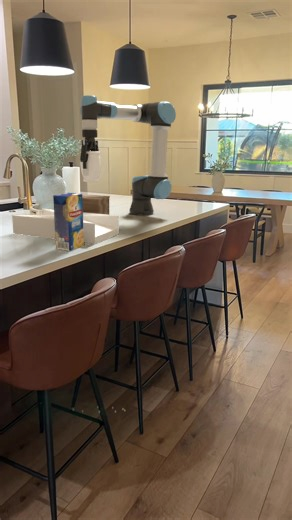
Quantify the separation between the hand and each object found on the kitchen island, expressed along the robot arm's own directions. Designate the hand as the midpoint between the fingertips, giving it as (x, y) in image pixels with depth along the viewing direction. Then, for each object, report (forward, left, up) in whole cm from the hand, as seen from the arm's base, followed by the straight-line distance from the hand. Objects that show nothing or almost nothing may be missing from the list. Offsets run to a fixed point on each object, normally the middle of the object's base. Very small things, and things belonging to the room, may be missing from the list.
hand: (90, 174), depth 208 cm
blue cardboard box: (+44, +11, -27) cm, 53 cm away
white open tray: (+22, -3, -27) cm, 35 cm away
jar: (0, 0, -4) cm, 4 cm away
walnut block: (0, 0, -27) cm, 27 cm away
